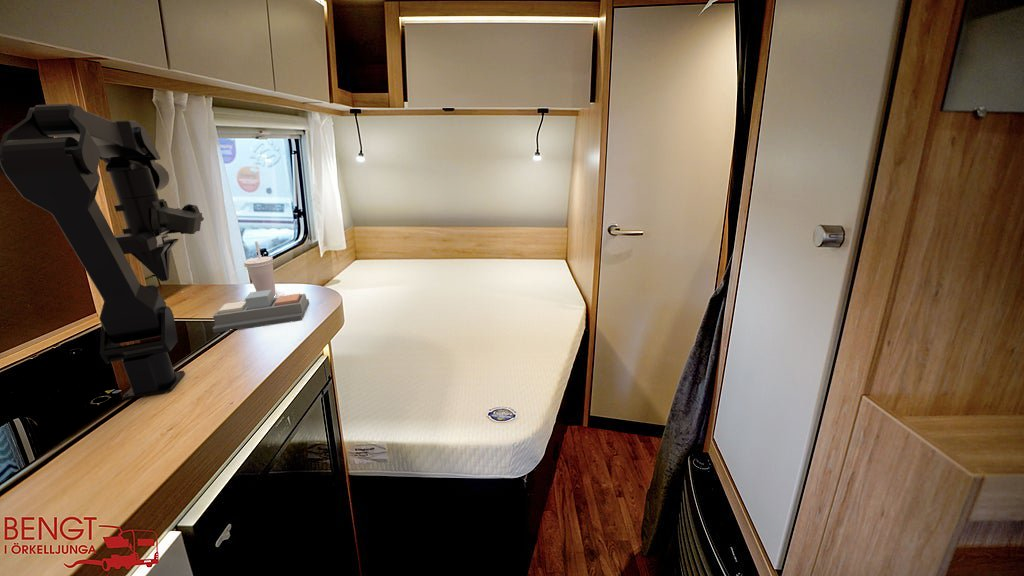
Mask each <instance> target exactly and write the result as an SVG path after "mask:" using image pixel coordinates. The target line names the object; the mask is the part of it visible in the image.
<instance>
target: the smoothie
mask: <svg viewBox="0 0 1024 576" xmlns="http://www.w3.org/2000/svg"><path fill="white" fill-rule="evenodd" d="M254 243H255V248H256V251H257V256H258V257H253V258H249V259H247V260H245V261H243V264H244V267H245V268H246V270H247V273H248V275H249V277H250V279H251V282H252V285H253V286H254V289H255V292H257V291H265V290H272V292H273V296H275V295H276V296H277V294H276V283H275V274H274V257H272V256H262V255H261V251H260V245H259V243H258V241H254Z"/></svg>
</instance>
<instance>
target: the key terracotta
mask: <svg viewBox="0 0 1024 576" xmlns="http://www.w3.org/2000/svg"><path fill="white" fill-rule="evenodd" d="M300 294H301V293H293V294H287V295H280V296H278V297H277V298H278V299H277V301H276V302H275V305H276V306H278V305H285V304H292V303H299V301H300V299H301V295H300Z"/></svg>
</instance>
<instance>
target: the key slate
mask: <svg viewBox="0 0 1024 576" xmlns="http://www.w3.org/2000/svg"><path fill="white" fill-rule="evenodd" d="M274 298H275V297H274V296H273V292H272V290H265V291H257V292H256V291H252V292H251V291H250V292H249V293H248V295H247V296H246V297H245V298H244V301H246V305H247V308H248V310H250V309H257V308H264V307H270V306H271V305H272V303H273V302H274Z"/></svg>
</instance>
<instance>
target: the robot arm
mask: <svg viewBox="0 0 1024 576" xmlns="http://www.w3.org/2000/svg"><path fill="white" fill-rule="evenodd" d="M158 160H161V156H160V154H159V152H158V150H157V148H156V146H155V145H154V142H153V141H152V139H151V136H150V135H149V133H148V130H147V129H146V128H145V127H143V126H141V124H140V123H139V122H137V120H130V119H129V120H113V121H112V120H110V119H107V118H105V117H102V116H100V115H97V114H94V113H92V112H89V111H86V110H84V108H83V107H81V106H80V105H75V104H72V103H58V104H57V103H55V104H54V103H53V104H51V103H50V104H36V105H35V106H34V107H33V106H32V107H31V106H30V107H29V109H28V111H27V114H26V117H25V118H24V119H23V120H21V121H19V122H18V123H17V124H15V125H14V126H12V127H11V128H9V129H8V130H6V131H5V132H4V133H3V135H2V138H1V141H0V173H1V174H2V175H3V177H5V178H6V179H7V180H9V182H10V183H11V184H12V185H13V187H14V188H15V190H16V191H17V193H19V194H20V196H21V197H22V198H23V199H24V200H26V201H28V202H29V203H32V204H33V205H35V206H37V207H39V208H40V209H43V210H44V211H46V212H48V213H50V215H52V217H53V219H54V220H55V222H56V224H57V226H58V227H59V229H60V230H61V232H62V233H63V235H64V237H65V238H66V240H67V241H68V244H69V245H70V246H71V248H72V250H73V252H74V253H75V255H76V256H77V258H78V260H79V261H80V263H81V265H82V267H83V268H84V270H85V271H86V273H87V275H88V276H89V278H90V280H91V281H92V284H93V285H94V287H95V288H96V290H97V291H98V294H99V295H100V297H101V298H102V300H103V304H102V308H101V312H100V315H99V322H100V323H101V325H100V326H101V327H100V342H99V355H100V357H101V359H102V361H104V363H105V364H110V363H112V362H119V361H121V364H122V366H123V369H124V371H125V374H126V376H127V380H128V382H129V384H130V388H129V389H128V390H127V391H126V392H125V393H124V394H123V395H122V397H123V400H128V398H129V399H133V398H139V397H145V396H151V395H152V396H153V395H158V394H164V393H168V392H171V391H172V390H173V389H174V387H175V386H176V385H177V384H178V383H179V381H180V380H181V379H182V378H183V377H184V375H185V374H186V372H185V370H178V371H174V367H173V364H172V362H171V357H170V356H169V355H170V354H169V352H171V351H172V350H173V349H174V347H175V346H176V345H177V343H178V342H179V339H178V333H177V327H176V322H175V316H174V313H173V310H172V309H171V307H170V306H168V305H167V303H166V301H165V300H164V298H163V296H162V294H161V292H160V289H159V288H158V287H157V286H155V285H154V284H152V285H143V284H141V283H140V281H139V280H138V278H137V276H136V274H135V271H134V270H133V268H132V267H131V265H130V262H129V261H128V258H127V257H126V255H129V254H131V255H132V256H133V257H134V258H135V259H136V260H137V261H139V262H140V263H141V264H142V265H143V266H144V267H146V268H147V269H148V270H149V271H150V272H151V273H152V274H153V275H154V276H155V277H156V278H157V279H158V280H159V281H161V282H166V281H169V279H170V260H171V259H170V258H171V257H170V256H171V249H172V248H173V247H174V245H176V243H177V242H179V239H180V238H170V234H178V233H180V234H181V235H195V234H196V233H197V232H200V231H201V225H202V223H201V222H203V221H204V219H205V218H204V217H203V213H202V212H201V211H200V209H199V207H198V206H197V205H196V204H191V203H187V204H185V205H184V206H183V207H182V208H179V207H178V208H174V207H169V205H168V203H167V200H165V199H164V198H159V195H158V191H161V190H163V189H165V188H166V187H167V186H168V185H169V182H170V175H169V172H168V171H167V170H166V168H165V167H164V166H163V165H162V164H160V163H159V162H156V161H158ZM100 161H103V162H105V164H106V165H105V168H104V169H105V171H106V172H107V173H108V174H109V178H110V180H111V184H112V186H113V189H114V192H115V195H116V197H117V198H116V199H117V201H118V202H117V203H118V204H116V205H113V207H114V208H115V212H121V213H122V216H123V219H124V222H125V226H126V227H125V228H122V233H121V234H116V235H115V234H114V232H113V231H112V228H111V226H110V225H109V222H108V221H107V219H106V216H105V215H104V213H103V212H102V209H101V208H100V205H99V204H98V202H97V200H96V196H97V192H98V188H99V184H100V180H101V176H100V174H99V171H98V169H99V163H100ZM160 337H161V338H160ZM154 338H159V339H154ZM148 339H154V340H148ZM143 340H147V341H143ZM137 341H142V342H137ZM132 342H136V343H132ZM127 343H131V344H127ZM121 344H125V345H121Z"/></svg>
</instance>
